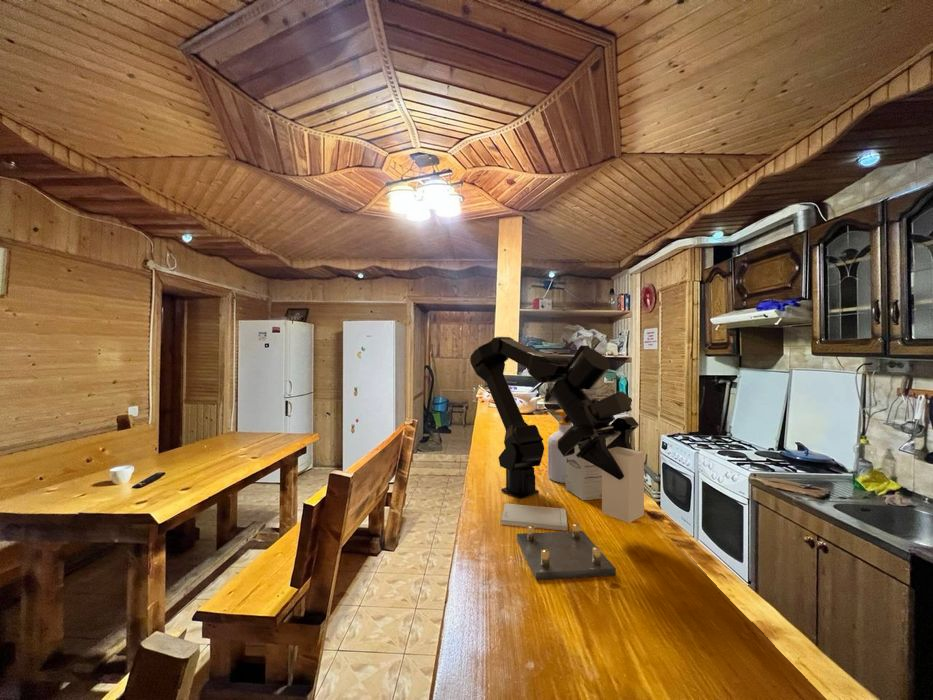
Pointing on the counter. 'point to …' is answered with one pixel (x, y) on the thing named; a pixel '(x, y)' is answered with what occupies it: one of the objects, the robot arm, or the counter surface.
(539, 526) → the hard drive
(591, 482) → the supplement box
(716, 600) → the counter surface
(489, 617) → the counter surface
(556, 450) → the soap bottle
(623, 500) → the cream block
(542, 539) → the chassis plate
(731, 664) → the counter surface
